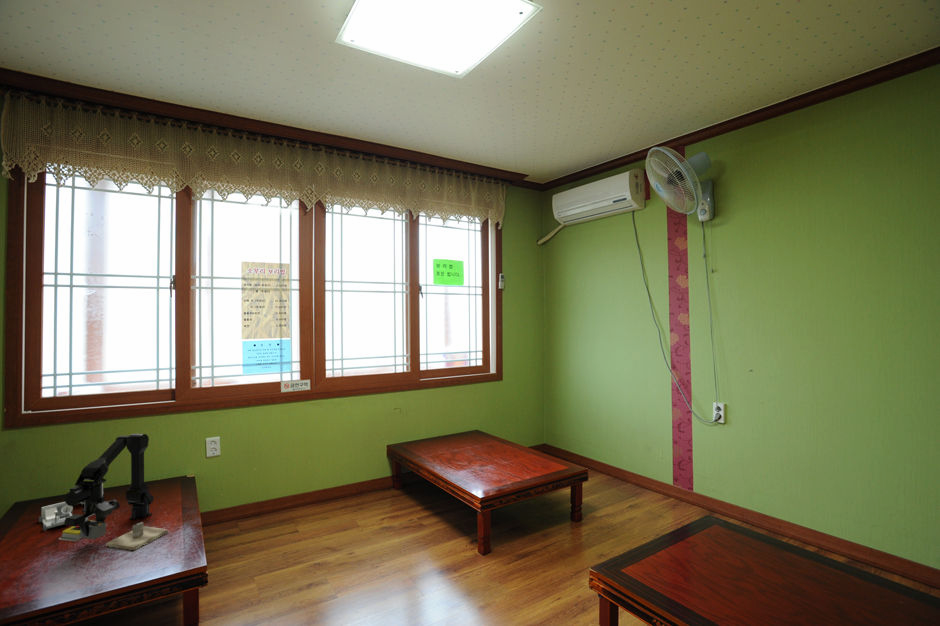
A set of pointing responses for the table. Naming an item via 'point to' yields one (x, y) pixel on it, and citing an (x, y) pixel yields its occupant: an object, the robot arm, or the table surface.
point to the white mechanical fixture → (55, 515)
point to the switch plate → (137, 537)
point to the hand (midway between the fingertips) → (93, 533)
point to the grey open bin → (95, 530)
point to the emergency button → (71, 534)
